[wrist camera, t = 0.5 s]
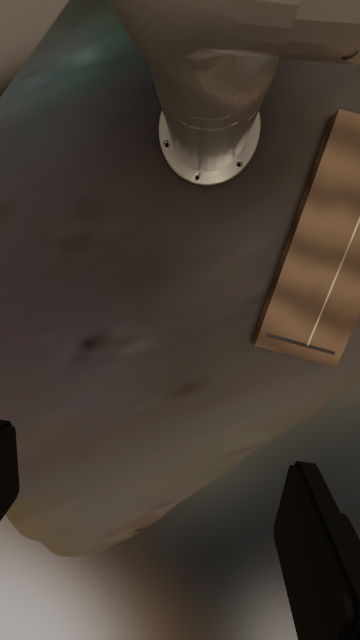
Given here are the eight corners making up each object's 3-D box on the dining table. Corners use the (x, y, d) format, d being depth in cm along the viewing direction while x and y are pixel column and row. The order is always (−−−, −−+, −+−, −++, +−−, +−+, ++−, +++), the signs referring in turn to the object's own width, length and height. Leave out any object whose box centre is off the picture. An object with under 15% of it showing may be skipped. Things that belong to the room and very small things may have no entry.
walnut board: (330, 117, 36) (339, 108, 33) (424, 143, 36) (441, 136, 33) (251, 339, 44) (254, 345, 41) (328, 360, 44) (336, 367, 41)
